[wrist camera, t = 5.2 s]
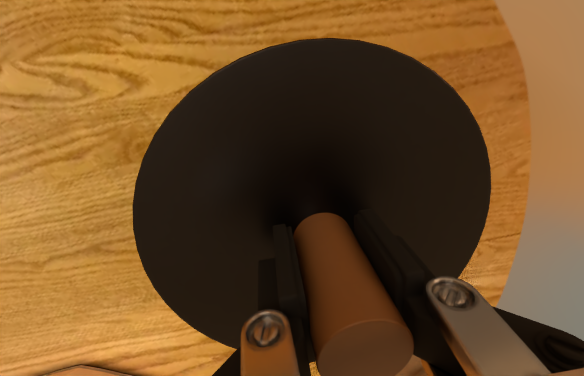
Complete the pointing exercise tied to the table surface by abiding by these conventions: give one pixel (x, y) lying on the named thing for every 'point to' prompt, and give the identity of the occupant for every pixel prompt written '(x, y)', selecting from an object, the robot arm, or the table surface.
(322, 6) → the table surface
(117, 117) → the table surface
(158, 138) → the pot lid
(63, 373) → the pan
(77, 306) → the table surface
